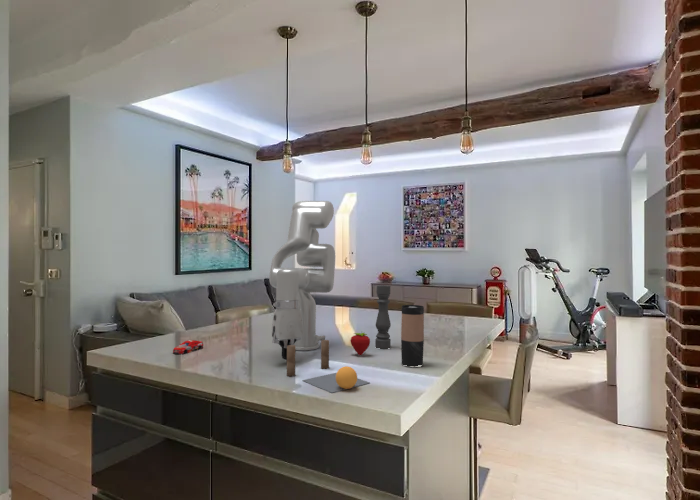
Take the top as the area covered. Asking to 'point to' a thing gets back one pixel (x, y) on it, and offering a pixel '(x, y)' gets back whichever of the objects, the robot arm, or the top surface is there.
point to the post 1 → (291, 360)
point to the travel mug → (412, 335)
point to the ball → (346, 377)
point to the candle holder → (383, 318)
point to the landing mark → (330, 383)
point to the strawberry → (360, 342)
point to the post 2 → (324, 354)
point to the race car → (188, 347)
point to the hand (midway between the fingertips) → (286, 358)
